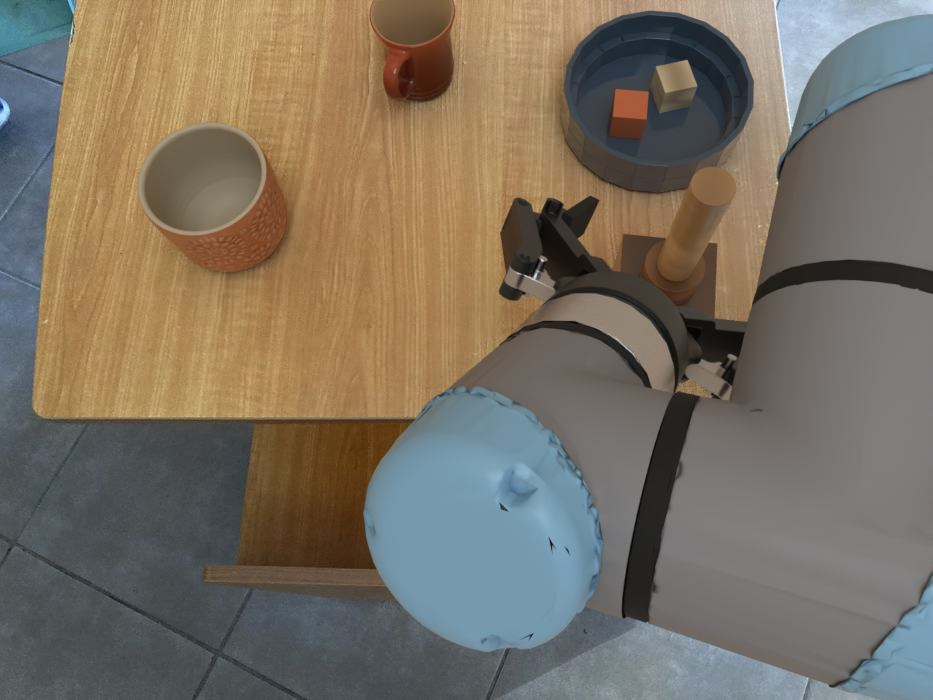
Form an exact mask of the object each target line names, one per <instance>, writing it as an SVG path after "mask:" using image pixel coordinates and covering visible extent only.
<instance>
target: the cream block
mask: <svg viewBox="0 0 933 700" xmlns="http://www.w3.org/2000/svg"><path fill="white" fill-rule="evenodd" d="M650 89H651V92H652V95H653V98H654V100H655V103H656V106H657V109H658V112H659V113H663V112H668V111H673V110H677V109H682V108H687V107H690V105H691V103H692V100H693V97H694V94H695V92H696V89H697V84H696V81H695V78H694V76H693V73H692V70H691V68H690V65H689V63H688V60H684V61H680V62H675V63H670V64H665V65H660V66H656V68H655V71H654V75H653V79H652V82H651V86H650Z"/></svg>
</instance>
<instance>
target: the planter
mask: <svg viewBox="0 0 933 700" xmlns="http://www.w3.org/2000/svg"><path fill="white" fill-rule="evenodd" d="M136 189H137V196H138V201H139V204H140V206H141V209H142V211H143V212H144V214H145V216H146V217H147V218H148V220H149V221H150V223H151V224H152V225H153V226H154V227H155V229H157V230H158V231H159V232H160V233H161V234H162V235H163V236H164V237H165V238H166V239H167V240H168V241H169V242H170V243H171V244H172V245H174V246H175V247H176V249H177V250H178V251H179V252H180V253H181V254H182V255H184V256H185V257H186V258H187V259H188V260H190V261H191V262H193V263H195V264H196V265H197V266H200V267H202V268H204V269H207V270H210V271H215V272H221V273H232V272H233V273H234V272H240V271H244V270H247V269H250V268H252V267H254V266H256V265H258V264H260V263H262V262H263V261H264V260H266V259H267V258H268V257H269V256H271V255H272V254H273V252H275V250H276V249H277V248H278V246H279V244H280V243H281V241H282V239H283V237H284V234H285V231H286V228H287V222H288V209H287V203H286V202H287V201H286V199H285V196H284V192H283V190H282V188H281V186H280V184H279V181H278V179H277V176H276V174H275V172H274V169H273V167H272V165H271V163H270V161H269V158H268V156H267V155H266V152H265V151H264V149H263V148H262V146H261V145H260V144H259V142H257V140H256V139H255V138H254V137H253V136H252V135H251V134H250V133H248V132H247V131H245V130H243V129H241V128H240V127H238V126H236V125H232V124H229V123H224V122H220V121H219V122H218V121H205V122H197V123H193V124H189V125H186V126H183V127H180V128H178V129H176V130H174V131H172V132H171V133H169V134H167V135H166V136H165V137H164V138H162V139H161V140H159V142H157V144H155V145H154V146H153V148H152V149H151V150H150V152H149V153H148V154H147V155H146V157H145V159H144V160H143V163H142V165H141V167H140V170H139V173H138V177H137V187H136Z"/></svg>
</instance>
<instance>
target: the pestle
mask: <svg viewBox="0 0 933 700" xmlns="http://www.w3.org/2000/svg"><path fill="white" fill-rule="evenodd" d="M736 194H737V182H736V180H735V178H734V176H733V175H732V174H731V173H730V172H729V171H727V170H726V169H724V168H722V167H719V168H718V167H706V168H703V169H700V170H699V171H697V172H696V173H695V174H694V175H693V177H692V179H691V181H690V184H689V186H688V187H687V189H686V190H685V193H684V194H683V198H682V200H681V202H680V205H679V207H678V209H677V212H676V214H675V217H674V219H673V221H672V224H671V226H670V228H669V230H668V233H667V235H666V237H665V238H666V240H663V241H660V242H658V243H657V244H655V245H654V246H653V247H652V248H651V249H650V250H649V252H648V253H647V256H646V258H645V261H644V263H643V266H642V268H641V271H640V275H639V277H640V278H642V279H644V280H646V281H648V282H649V283H651V284H653V285H654V286H656V287H657V288H658V289H660V290H661V291H662V292H663V293H664V294H665V295H666V296H667V297H668V298H669V299H670V300H671V301H672V303H673V304H674V305H675V306H677V305H680V304H683V303H685V302H686V301H688V300H689V299H690V298H691V297H692V296H693V294H694V292H695V291H696V289H697V287H698V286H699V284H700V282H701V280H702V279H703V276H704V273H705V262H704V258H703V256H702V255H703V253H704V251H705V249H706V247H707V246H708V244H709V243H711V240H712V238H713V236H714V234H715V233H716V231H717V229H718V227H719V226H720V224H721V222H722V220H723V219H724V217H725V214H726V213H727V211H728V209H729V208H730V206H731V204H732V202H733V200H734V198H735V197H736Z"/></svg>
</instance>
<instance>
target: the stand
mask: <svg viewBox="0 0 933 700" xmlns="http://www.w3.org/2000/svg"><path fill="white" fill-rule="evenodd" d="M621 237H622V238H621V241H620V244H619V246H618V250H617V254H616V255H615V256H616V257H615V260H614V263H613V266H612V268H611V269H612V271H617V272H623V273H628V274H631V275H634V276H637V277H639V275H640V271H641V268H642V266H643V263H644V261H645V258H646V256H647V253H648V252H649V250H650V249H651V248H652V247H653V246H654V245H655V244H657V243H658V242H660V241H663V240H666V237H661V236H660V237H658V236H649V235H639V234H629V233H623V234H622V236H621ZM702 256H703V258H704V262H705V273H704V276H703V279H702V280H701V282H700V284H699V286H698V287H697V289H696V291H695V292H694V294H693V296H692V297H691V298H690V299H689V300H688V301H686V302H685V303H683V304H680V305H677V306H682V307H690V308H699V309H701V310H702V311H703V312H704V313H706V314H707V315H708V316H709V317H710V318H715V317H716V316H715V315H716V293H717V268H718V267H717V264H718V243H716V242H709V244H708V246H707V247H706V249H705V251H704V253H703V255H702Z"/></svg>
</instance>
